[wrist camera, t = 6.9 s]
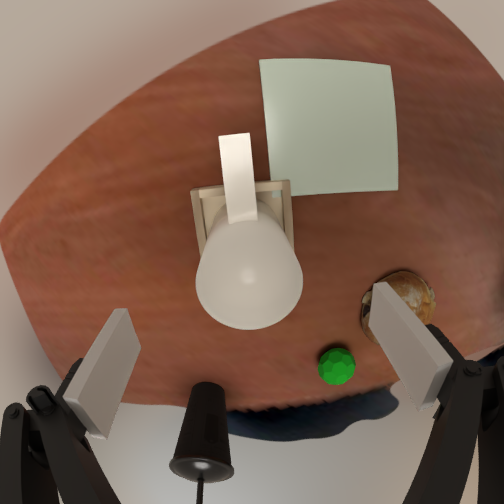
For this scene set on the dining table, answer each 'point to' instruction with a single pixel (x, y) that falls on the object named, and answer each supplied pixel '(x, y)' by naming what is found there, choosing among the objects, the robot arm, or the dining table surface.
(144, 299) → the dining table surface
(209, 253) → the white cylinder with tab
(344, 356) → the polyhedron
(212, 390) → the drinking cup
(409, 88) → the dining table surface
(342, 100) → the plate
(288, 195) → the holder
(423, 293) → the bread roll
